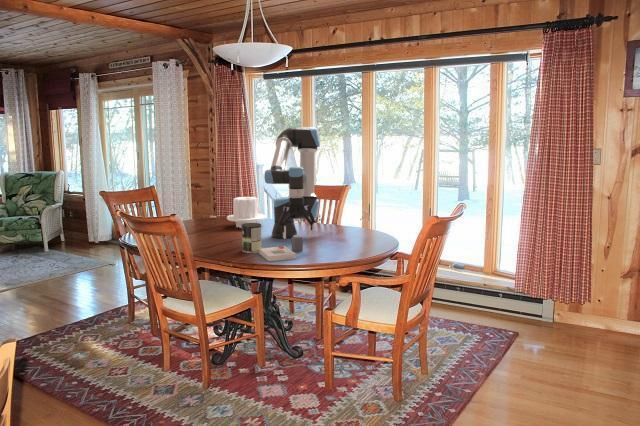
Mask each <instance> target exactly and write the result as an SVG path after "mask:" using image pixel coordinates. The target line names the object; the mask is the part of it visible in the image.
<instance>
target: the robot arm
mask: <svg viewBox="0 0 640 426" xmlns="http://www.w3.org/2000/svg"><path fill="white" fill-rule="evenodd" d="M320 147H321V140H320V133H319V130H318V128H317V127H316V126H293V127H292V126H291V127H287V128H285V129H283V131H282V132H281V133H280V134H279V135H278V136H277V138H276V140H275V151H274V156H273V159H272V162H271V165H270V169H266V170H265V171H264V178H263V179H264V182H265V184H270V185H288V196H285V197H284V196H283V197H282V196H281V197H279V198H276V199H274V201H273V214H274V215H273V216H274V218H273V219H274V221H273V222H274V224H273V227H272V230H271V237H272V238H274V239H284V240H286V239H292V237H293V236H294V235H298V231H297V228H296V225H295V220H306V221H307V223H308V224H307V237H308V238H311V237H312V236H311V235H312V231H313V225H314V224H315V223H316V219H317V218H318V214H319V210H320V202H321V201H320V199H319V198H318V196H317V195H316V194H315V184H316V183H315V182H316V181H315V177H316V176H315V171H316V170H315V169H316V168H315V165H316V164H315V162H316V160H315V159H316V157H315V156H316V153H317V151H318V148H320ZM292 148H297V151H298V152H299V154H300V156H299V162H300V163H299V166H291V167H289V169H286V166H287V160H288V156H289V153H290V150H291V149H292Z"/></svg>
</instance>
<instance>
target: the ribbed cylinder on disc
mask: <svg viewBox="0 0 640 426" xmlns="http://www.w3.org/2000/svg"><path fill="white" fill-rule="evenodd" d="M259 206H260V205H259V198H258V197H255V196H237V197H234V198H232V209H233V210H232V211H233V214H229V215H227V216H226V220H228V221H229V222H235V227H236V228H238V227H239V229H242V226H241V225H242V224H245V223H258V222H259V221H263V220H265V219H266V215H265V214H262V213H260V211H259V210H260V207H259Z"/></svg>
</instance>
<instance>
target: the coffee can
mask: <svg viewBox="0 0 640 426" xmlns="http://www.w3.org/2000/svg"><path fill="white" fill-rule="evenodd" d="M241 226H242V228H241V243H242V244H241V245H242V246H241V247H242V248H241V250H242V253H245V254H255V253H256V254H257V253H259V249H260V248H263V247H262V223H259V222H257V223H245V224H242V225H241Z"/></svg>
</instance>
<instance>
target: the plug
mask: <svg viewBox="0 0 640 426" xmlns="http://www.w3.org/2000/svg"><path fill="white" fill-rule="evenodd" d="M303 246H304V245H303V237H302V236H301V235H299V234H297V235H294V236H293V237H292V238H291V251H293V252H294V253H301V252H303V251H304V248H303Z"/></svg>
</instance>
